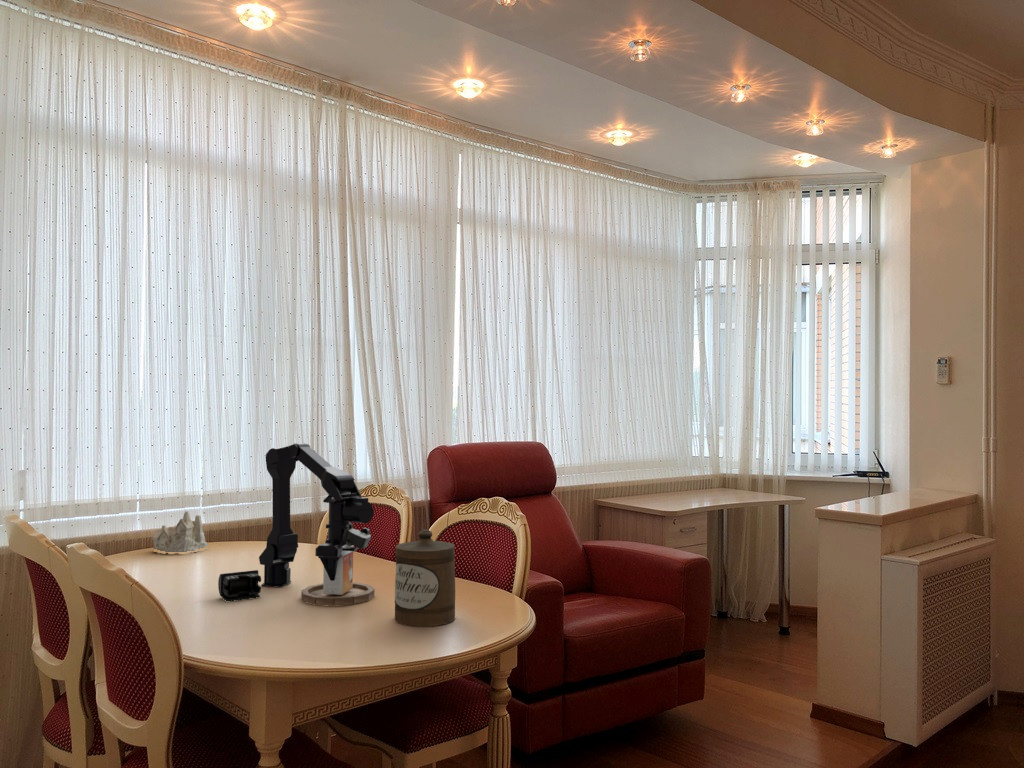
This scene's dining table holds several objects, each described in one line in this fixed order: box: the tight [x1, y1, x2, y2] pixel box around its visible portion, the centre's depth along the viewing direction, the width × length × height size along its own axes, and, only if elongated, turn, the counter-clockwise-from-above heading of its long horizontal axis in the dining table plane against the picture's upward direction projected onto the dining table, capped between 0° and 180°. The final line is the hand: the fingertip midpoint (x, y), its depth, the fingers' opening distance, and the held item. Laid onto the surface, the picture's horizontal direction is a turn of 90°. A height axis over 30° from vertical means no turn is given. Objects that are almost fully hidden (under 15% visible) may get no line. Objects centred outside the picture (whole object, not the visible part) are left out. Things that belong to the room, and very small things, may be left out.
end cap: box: [217, 569, 262, 602], centre depth 221 cm, size 10×7×7 cm
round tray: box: [300, 582, 376, 607], centre depth 222 cm, size 19×19×2 cm
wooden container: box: [394, 528, 456, 628], centre depth 201 cm, size 15×15×22 cm
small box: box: [322, 551, 354, 595], centre depth 222 cm, size 8×6×10 cm
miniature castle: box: [152, 510, 209, 552], centre depth 289 cm, size 16×16×15 cm
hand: (338, 577), depth 222 cm, fingers closed on small box, 8 cm apart
